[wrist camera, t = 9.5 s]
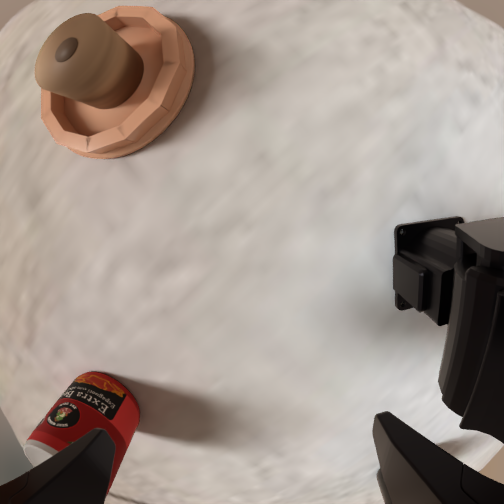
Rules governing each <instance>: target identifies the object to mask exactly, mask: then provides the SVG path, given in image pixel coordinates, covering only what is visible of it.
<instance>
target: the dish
mask: <svg viewBox="0 0 504 504" xmlns="http://www.w3.org/2000/svg"><path fill="white" fill-rule="evenodd" d="M97 16H98V17H100V18H101V19H102V20H103V21H104V22H105V23H106V24H108V25H109V26H110V27H111V28H112V29H113V30H114V31H115V32H116V33H117V34H118V35H120V36H121V37H122V38H123V39H124V40H125V41H126V42H127V43H128V44H129V45H130V46H131V47H132V48H133V49H134V50H135V51H137V52H138V53H139V55H140V56H141V58H142V60H143V63H144V73H143V77H142V80H141V83H140V85H139V87H138V88H137V90H136V91H135V92H134V94H133V95H132V96H131V97H130V98H129V99H128V100H127V101H125V102H124V103H122V104H121V105H119V106H117V107H115V108H111V109H98V108H95V107H92V106H89V105H87V104H84V103H81V102H78V101H76V100H73V99H70V98H67V97H64V96H62V95H59V94H56V93H53V92H50V91H47V90H44V89H42V88H41V118H42V120H43V122H44V124H45V125H46V127H47V129H48V130H49V132H50V134H51V135H52V137H53V138H54V140H55V141H56V143H57V144H59V145H63V146H66V147H68V148H69V149H70V150H72V151H73V152H75V153H76V154H79V155H81V156H84V157H89V158H97V159H111V158H117V157H122V156H125V155H128V154H130V153H133V152H135V151H137V150H139V149H141V148H143V147H144V146H146V145H147V144H149V143H150V142H152V141H153V140H154V139H156V138H157V137H158V136H159V135H160V134H162V133H163V131H164V130H165V129H166V128H167V127H168V126H169V125H170V124H171V123H172V122H173V120H174V119H175V118H176V117H177V115H178V114H179V112H180V110H181V109H182V107H183V106H184V104H185V101H186V100H187V98H188V95H189V92H190V90H191V87H192V83H193V79H194V71H195V59H194V53H193V49H192V46H191V44H190V41H189V40H188V38H187V36H186V34H185V33H184V31H183V30H182V29H181V28H180V27H179V25H178V24H177V23H175V22H174V21H172V20H171V19H169V18H167V17H165V16H163V15H162V14H160V13H159V12H158V11H157V10H156V9H154V8H153V7H143V6H118V7H115V8H113V9H111V10H108V11H106V12H104V13H102V14H99V15H97Z"/></svg>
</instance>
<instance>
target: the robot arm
mask: <svg viewBox="0 0 504 504" xmlns="http://www.w3.org/2000/svg"><path fill="white" fill-rule="evenodd" d="M458 221H459V224H457V223H458ZM401 229H403V233H402V234H401V235H400V230H401ZM394 238H395V255H394V257H393V289H394V290H395V306H396V307H397V308H398V309H399V310H406V309H410V308H415V309H416V310H417V311H418V312H424V313H425V314H426V315H428V316H429V317H430V318H431V319H432V320H433V321H434V322H435V323H436V324H437V325H438V326H442V325H445V324H447V325H448V330H447V336H446V342H445V347H444V352H443V357H442V362H441V366H440V371H439V378H438V383H439V386H440V389H441V393H442V394H443V396H442V401H443V402H444V403H445V404H446V406H447V407H448V408H449V409H451V410H452V411H453V412H455V413H456V414H458V415H459V416H461V417H463V418H462V420H461V423H460V425H459V427H460V428H461V429H467V430H477V431H480V432H483V433H486V434H489V435H491V436H493V437H495V438H496V439H498V440H499V441H501V442H502V443H504V217H501V218H494V219H488V220H481V221H475V222H468V223H464V220H463V218H461V217H458V216H455V217H448V218H441V219H434V220H427V221H420V222H413V223H406V224H400V225H397V226H396V228H395V230H394ZM401 302H403V304H402V305H400V303H401ZM373 438H374V442H375V446H376V451H377V455H378V459H379V464H380V468H381V472H382V475H383V478H384V481H385V484H386V486H387V489H388V492H389V494H390V497H391V500H392V503H393V504H504V484H501V483H498V482H497V481H494V480H492V479H490V478H488V477H486V476H484V475H482V474H480V473H479V472H477V471H475V470H474V469H472V468H470V467H469V466H467V465H466V464H463V463H462V462H461V461H459V460H458V459H456V458H455V457H453V456H452V455H450V454H449V453H447V452H446V451H444V450H443V449H441V448H440V447H438V446H437V445H435V444H434V443H433V442H431V441H430V440H428V439H427V438H425V437H424V436H422V435H421V434H420V433H418V432H417V431H415V430H414V429H412V428H411V427H410V426H408V425H407V424H405V423H404V422H403V421H401V420H400V419H398V418H397V417H396V416H394V415H393V414H392V413H390V412H388V411H385V412H382V413H378V414H376V415H375V418H374V424H373ZM115 450H116V446H115V443H114V441H113V440H112V438H111V437H110V435H109V434H108V432H107V431H106V430H105V429H101V428H94V429H92V430H91V431H89V432H88V433H87V434H85V435H84V436H82V437H81V438H79V439H78V440H76V441H75V442H73V443H72V444H70V445H69V446H67V447H66V448H64V449H63V450H61V451H59V452H58V453H56V454H55V455H53V456H52V457H50V458H49V459H47V460H45V461H44V462H42V463H41V464H39V465H37V466H36V467H34V468H33V469H31V470H30V471H28V472H26V473H24V474H23V475H21V476H19V477H18V478H16V479H14V480H12V481H10V482H8V483H6V484H3V485H1V486H0V504H104V501H105V497H106V494H107V490H108V487H109V483H110V478H111V473H112V467H113V461H114V456H115Z"/></svg>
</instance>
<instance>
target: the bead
mask: <svg viewBox="0 0 504 504" xmlns="http://www.w3.org/2000/svg"><path fill="white" fill-rule="evenodd" d="M143 73H144V63H143V60H142V58H141V56H140V55H139V53H138V52H137V51H135V50H134V49H133V48H132V47H131V46H130V45H129V44H128V43H127V42H126V41H125V40H124V39H123V38H122V37H121V36H120V35H118V34H117V33H116V32H115V31H114V30H113V29H112V28H111V27H110V26H109V25H108V24H106V23H105V22H104V21H103V20H102V19H101V18H100V17H98V16H97V15H95V14H91V13H84V14H80V15H76V16H74V17H72V18H70V19H68V20H67V21H65V22H64V23H62V24H61V25H60V26H59V27H57V28H56V29H55V30H54V31H53V32H52V33H51V35H50V36H49V37H48V38H47V40H46V41H45V43H44V44H43V46H42V48H41V50H40V52H39V54H38V57H37V60H36V64H35V78H36V81H37V84H38V85H39V86H40V87H41V88H42V89H44V90H47V91H50V92H53V93H56V94H59V95H62V96H64V97H67V98H70V99H73V100H76V101H78V102H81V103H84V104H87V105H89V106H92V107H95V108H98V109H111V108H115V107H117V106H119V105H121V104H122V103H124V102H125V101H127V100H128V99H129V98H130V97H131V96H132V95H133V94H134V92H135V91H136V90H137V88H138V87H139V85H140V83H141V80H142V77H143Z"/></svg>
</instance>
